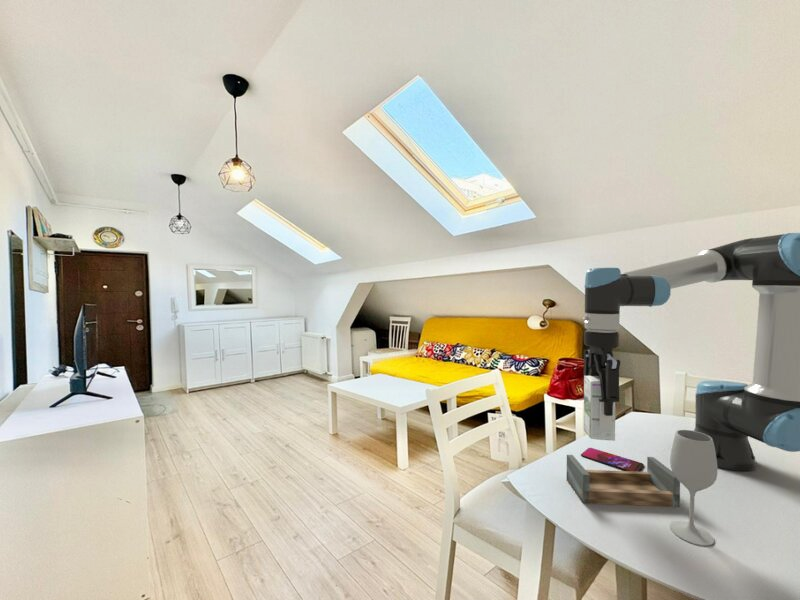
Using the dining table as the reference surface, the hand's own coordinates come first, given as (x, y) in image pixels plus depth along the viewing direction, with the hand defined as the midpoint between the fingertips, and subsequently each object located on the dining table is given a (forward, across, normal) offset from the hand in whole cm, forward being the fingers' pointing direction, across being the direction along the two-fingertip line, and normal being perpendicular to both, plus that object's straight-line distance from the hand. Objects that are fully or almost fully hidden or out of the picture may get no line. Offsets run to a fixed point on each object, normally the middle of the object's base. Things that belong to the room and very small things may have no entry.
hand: (599, 422), depth 89 cm
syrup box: (+4, 0, 0) cm, 4 cm away
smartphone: (+18, -17, +12) cm, 28 cm away
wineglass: (+18, +14, +12) cm, 26 cm away
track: (+18, 0, +5) cm, 19 cm away
